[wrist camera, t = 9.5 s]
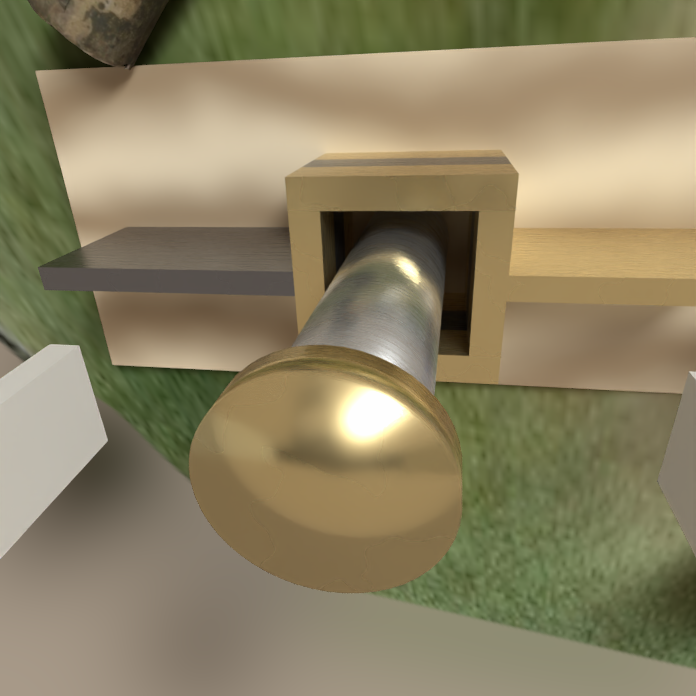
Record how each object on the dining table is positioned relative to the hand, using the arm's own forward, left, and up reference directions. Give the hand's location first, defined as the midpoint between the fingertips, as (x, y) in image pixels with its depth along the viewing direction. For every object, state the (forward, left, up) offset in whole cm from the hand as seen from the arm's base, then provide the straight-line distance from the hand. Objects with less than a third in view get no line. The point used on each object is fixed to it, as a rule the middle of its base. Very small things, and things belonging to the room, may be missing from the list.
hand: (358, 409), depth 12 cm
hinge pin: (0, 0, -16) cm, 16 cm away
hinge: (0, 0, -16) cm, 16 cm away
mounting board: (0, 0, -17) cm, 17 cm away
